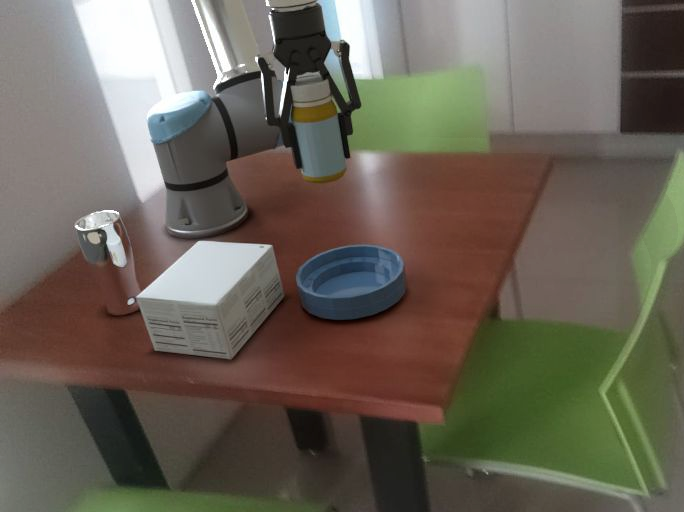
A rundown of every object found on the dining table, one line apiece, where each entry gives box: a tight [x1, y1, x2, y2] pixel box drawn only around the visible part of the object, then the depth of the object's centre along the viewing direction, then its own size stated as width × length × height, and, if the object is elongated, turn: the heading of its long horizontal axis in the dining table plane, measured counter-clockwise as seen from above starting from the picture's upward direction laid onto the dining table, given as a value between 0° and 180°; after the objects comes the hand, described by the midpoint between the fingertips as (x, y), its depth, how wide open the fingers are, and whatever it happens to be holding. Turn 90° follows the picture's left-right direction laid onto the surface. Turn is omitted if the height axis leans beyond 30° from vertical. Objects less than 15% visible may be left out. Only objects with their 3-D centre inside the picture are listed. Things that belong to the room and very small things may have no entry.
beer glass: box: [73, 210, 143, 317], centre depth 121 cm, size 7×7×15 cm
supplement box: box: [136, 240, 285, 360], centre depth 115 cm, size 17×13×9 cm
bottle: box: [291, 74, 347, 185], centre depth 120 cm, size 7×7×15 cm
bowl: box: [295, 244, 408, 321], centre depth 119 cm, size 16×16×4 cm
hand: (322, 160), depth 122 cm, fingers closed on bottle, 7 cm apart
